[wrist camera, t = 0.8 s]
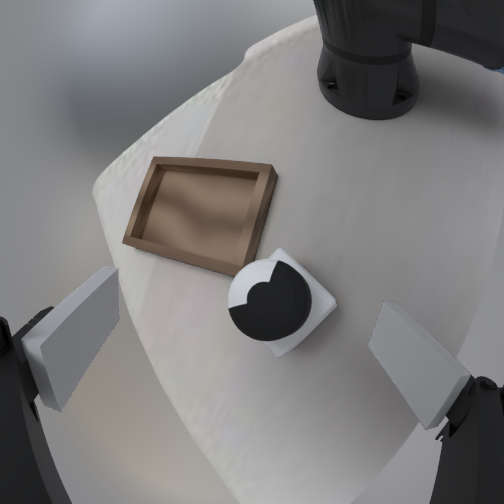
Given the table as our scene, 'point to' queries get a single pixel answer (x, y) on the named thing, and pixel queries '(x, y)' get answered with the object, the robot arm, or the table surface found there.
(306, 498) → the table surface
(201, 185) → the walnut tray
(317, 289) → the medicine bottle
